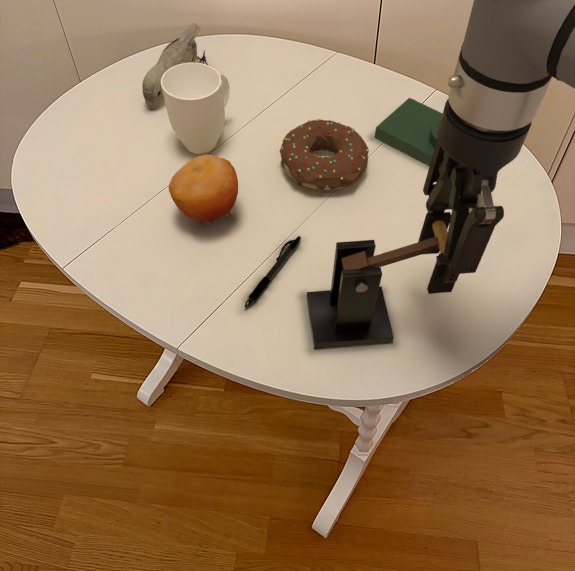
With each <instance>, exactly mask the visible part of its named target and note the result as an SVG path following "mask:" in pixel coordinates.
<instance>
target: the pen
mask: <svg viewBox="0 0 575 571" xmlns="http://www.w3.org/2000/svg"><path fill="white" fill-rule="evenodd" d="M301 239H302V237H301V235H298V236H297V237H296V238H294V239H290V240H288V241H286V242H285V244H283V245H282V247H281V249H280V251H279V254H278V256H277V257H276V259H275V263H274V264H273V266H272V267H271V268H270V270H269V271H267V273H266V275H265V276H263V277H262V278H261V279H260V280H259V282H258V284H256V286H255V287H254V289H253V290H252V292H250V294H249V295H248V296H247V300H246V301H245V303H244V308H245V309H247V308H249V307H250V306H251V305H252V304H253V303H254V302H256V301H257V300H258V298H259V297H260V296H261V295H262V293H263V292H264V291H265V290H266V288H267V287H268V285H269V284H270V283H271V281H272V279H273V278H274V277H275V275H276V274H277V272H278V271H279V270H280V269H281V267H282V266H283V265H284V263H285V262H286V261H287V259H288V258H289V257H290V256H291V254H292V253H293V252H294V251H295V250H296V249H297V247H298V246H299V244H300V241H301Z"/></svg>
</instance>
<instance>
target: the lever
mask: <svg viewBox="0 0 575 571" xmlns="http://www.w3.org/2000/svg"><path fill="white" fill-rule="evenodd" d="M432 228H433V232H434V235H435V237H434V238H430V239H427V240H424V241H421V242H418V241H417V242H415V243H410V244H408V245H405V246H402V247H397V248H395V249H392V250H389V251H385V252H383V253H380V254H374V256H372V257H369V258H368V257H367V255H366V253H365V251H363V252H360V253H356V254H353V255H350V256H347V257H344V258H342V264H343V269H344V270H351V269H365V268H378V267H381V268H382V267H386V266H388V265H391V264H396V263H399V262H401V261H405V260H408V259H412V258H416V257H418V256H422V254H423V255H426V254H425V253H428V252H432V251H435V250H438V249H439V250H440V252H439V253H444V250H445V245H446V239H447V234H448V229H446V226H445V223H444V221H442V220H438V221H435V222H434V223H433V224H432Z"/></svg>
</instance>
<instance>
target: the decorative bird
mask: <svg viewBox="0 0 575 571" xmlns="http://www.w3.org/2000/svg"><path fill="white" fill-rule="evenodd" d="M201 30H202V28H201V27H200V26H198V23H192V24H189V25H188V27H187V28H186V29H184V31H183V32H182V33H181V35H180V36H179V37H177V38H176V39H174V40H172V41H171V42H169V43H168V44H167V45H166V46H165V48H164V49H163V51H161V54H160V55H159V57H158V60H157V62H156V63H155V65H153V66H152V67H151V68H150V69H149V70H148V71H147V72H146V74H145V75H144V77H143V80H142V84H141V85H142V86H141V87H142V88H141V89H142V95H143V98H144V101H145V104H146V106H147V107H148V108H149V109H150V110H153V109H154V107H155V106H156V105H157V104H158V102H159V100H160V98H161V97H162V96H164V95H163V91H162V87H161V78H162V76H163V74H164V73H165V72H166V71H167V70H168V69H170V68H171V67H173V66H176V65H178V64H182V63H191V62H194V63H197V62H196V61H198V60H199V61H198V63H202V64H206V65H209V64H208V62H207V57H206V49H204V50H203V53H202V56H201V57H200V56H198V45H197V42H196V40H195V39H196V38H197V37H198V35H199V33H200V32H201Z"/></svg>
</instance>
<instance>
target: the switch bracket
mask: <svg viewBox="0 0 575 571" xmlns="http://www.w3.org/2000/svg"><path fill="white" fill-rule="evenodd" d="M376 247H377V246H376V241H375V239H366V240H365V239H364V240H350V241H349V240H348V241H338V242H336V243H335V249H334V250H335V251H334V260H333V266H332V267H333V269H332V275H331V276H332V277H331V285H330V289H328V290H315V291H306V303H307V310H308V316H309V325H310V330H311V338H312V345H313V349H314V350H319V349H331V348H343V347H355V346H368V345H379V344H393V341H394V338H395V337H394V332H393V329H392V325H391V320H390V316H389V312H388V309H387V303H386V299H385V296H384V290H383V287H382V285H381V282H382V277H383V271H382V267H378V268H365V269H351V270H344V269H343V264H342V258H344V257H347V256H350V255H353V254H356V253H360V252H363V251H365V253H366V255H367V257H368V258H369V257H372V256H375V251H376Z"/></svg>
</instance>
